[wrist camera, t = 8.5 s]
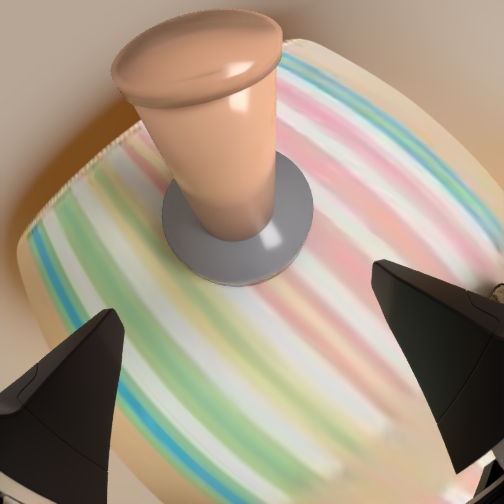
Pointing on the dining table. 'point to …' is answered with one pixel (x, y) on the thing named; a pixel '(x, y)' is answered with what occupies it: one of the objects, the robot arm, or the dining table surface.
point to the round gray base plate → (248, 251)
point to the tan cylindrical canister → (211, 111)
